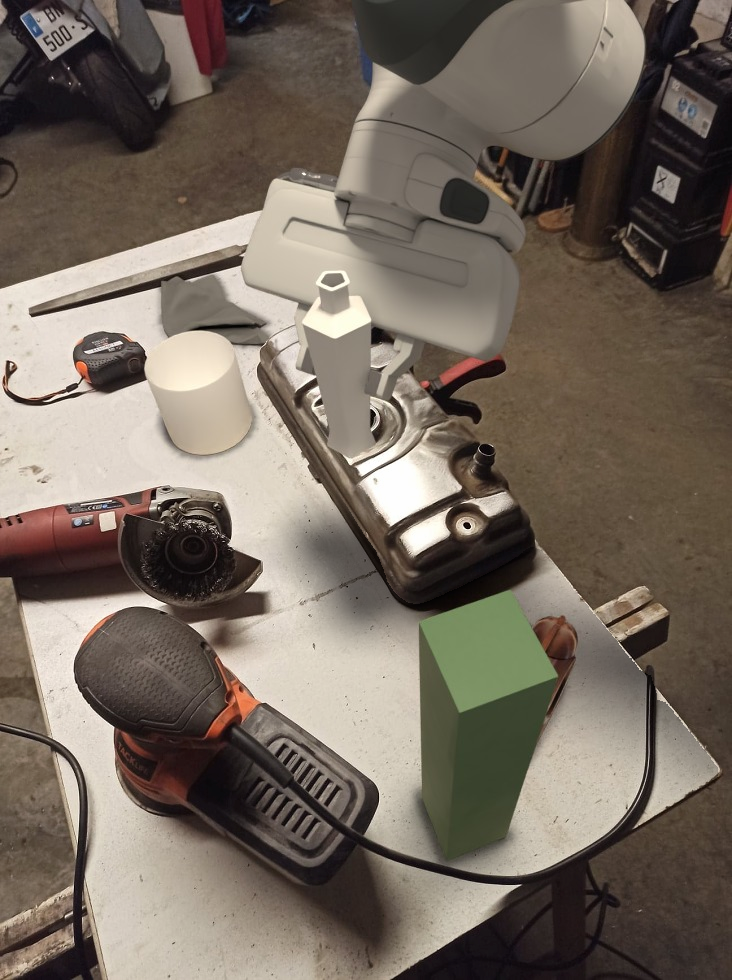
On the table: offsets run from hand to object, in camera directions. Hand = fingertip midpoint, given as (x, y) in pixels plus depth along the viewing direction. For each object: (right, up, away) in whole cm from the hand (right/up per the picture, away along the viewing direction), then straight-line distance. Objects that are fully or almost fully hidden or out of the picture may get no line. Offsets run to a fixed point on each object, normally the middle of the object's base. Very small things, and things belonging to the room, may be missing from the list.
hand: (342, 385), depth 53 cm
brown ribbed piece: (+18, -30, +22) cm, 42 cm away
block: (+11, -38, +16) cm, 43 cm away
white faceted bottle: (+1, -4, +5) cm, 7 cm away
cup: (-20, +2, +51) cm, 55 cm away
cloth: (-24, +20, +66) cm, 73 cm away
